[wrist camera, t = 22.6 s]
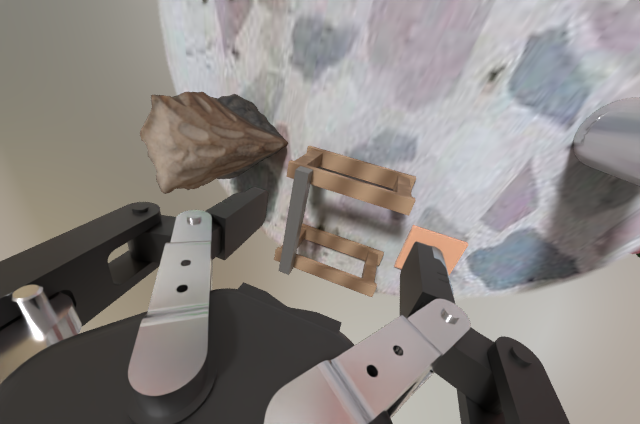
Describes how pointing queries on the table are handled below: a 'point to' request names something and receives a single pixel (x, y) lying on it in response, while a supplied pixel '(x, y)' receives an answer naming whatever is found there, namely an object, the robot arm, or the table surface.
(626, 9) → the table surface
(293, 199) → the bar
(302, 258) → the gantry
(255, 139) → the brown pointed rock
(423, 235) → the terracotta tile
